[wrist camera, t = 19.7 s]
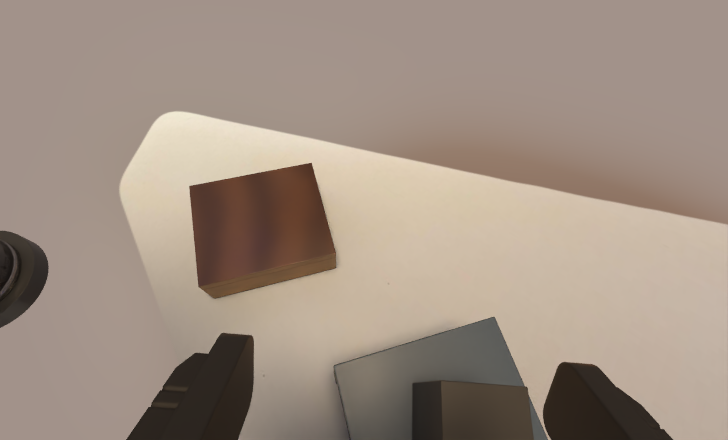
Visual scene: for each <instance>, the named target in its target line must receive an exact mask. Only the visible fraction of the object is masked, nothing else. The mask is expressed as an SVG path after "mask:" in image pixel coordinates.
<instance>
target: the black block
mask: <svg viewBox="0 0 728 440" xmlns="http://www.w3.org/2000/svg"><path fill="white" fill-rule="evenodd" d="M412 440H534V436H533V428H532V420H531V412H530V404H529V396H528V388H527V387H523V386H511V385H498V384H485V383H472V382H459V381H446V380H438V381H428V382H417V383H413V384H412Z"/></svg>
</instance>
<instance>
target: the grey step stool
mask: <svg viewBox="0 0 728 440" xmlns="http://www.w3.org/2000/svg"><path fill="white" fill-rule="evenodd" d="M334 376H335V380H336V384H338V388H339V393H340V397H341V401H342V405H343V410H344V414H345V418H346V423H347V427H348V431H349V436H350V440H412V384H413V383H417V382H428V381H438V380H446V381H459V382H472V383H485V384H498V385H511V386H523V387H525V386H524V384H523V381H522V379H521V377H520V374H519V372H518V370H517V367H516V365H515V363H514V361H513V358H512V356H511V354H510V351H509V349H508V347H507V344H506V342H505V340H504V338H503V335H502V333H501V331H500V328H499V326H498V324H497V321H496V319H495V317H491V318H488V319H485V320H482V321H478V322H475V323H472V324H468V325H465V326H462V327H459V328H455V329H452V330H449V331H445V332H442V333H439V334H435V335H432V336H429V337H426V338H422V339H419V340H416V341H412V342H409V343H406V344H403V345H399V346H396V347H393V348H389V349H386V350H383V351H380V352H376V353H373V354H370V355H366V356H363V357H360V358H357V359H353V360H350V361H347V362H343V363H340V364H337V365H334ZM528 396H529V395H528ZM529 404H530V412H531V420H532V428H533V436H534V440H548V439H547V436H546V434H545V432H544V430H543V427H542V425H541V423H540V420H539V418H538V416H537V413H536V411H535V409H534V407H533V404H532V402H531V400H530V397H529Z"/></svg>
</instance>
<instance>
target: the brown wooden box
mask: <svg viewBox="0 0 728 440" xmlns="http://www.w3.org/2000/svg"><path fill="white" fill-rule="evenodd" d="M189 187H190V198H191V209H192V220H193V230H194V241H195V252H196V263H197V274H198V285H199V287H200V288H201V289H202V290H204V291H205V292H206V293H208V294H209V295H210V296H212V297H213V298H218V297H222V296H226V295H230V294H234V293H238V292H242V291H246V290H250V289H254V288H258V287H262V286H266V285H270V284H274V283H278V282H282V281H286V280H290V279H294V278H298V277H302V276H306V275H310V274H314V273H318V272H322V271H326V270H330V269H334V268H336V252H335V248H334V245H333V241H332V237H331V234H330V230H329V226H328V222H327V219H326V215H325V211H324V208H323V204H322V200H321V196H320V193H319V189H318V185H317V182H316V178H315V174H314V170H313V167H312V163H308V164H303V165H298V166H293V167H287V168H282V169H277V170H272V171H266V172H261V173H256V174H251V175H245V176H240V177H235V178H230V179H224V180H219V181H214V182H209V183H203V184H198V185H193V186H189Z"/></svg>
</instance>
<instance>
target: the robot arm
mask: <svg viewBox="0 0 728 440" xmlns="http://www.w3.org/2000/svg"><path fill="white" fill-rule="evenodd" d="M20 272H21V257H20V254H19V252H18V251H17V249H16V248H15V247H13V246H12V245H11V244H9V243H7V242H5V241H2V240H0V301H1V300H2V299H4V298H5V297H6V296H7V294H8V293H9V292H10V291H11V290H12V288H13V287H14V285H15V284H16V282H17V280H18V278H19V275H20ZM253 380H254V340H253V336H252V335H240V334H228V333H222V334H221V335H220V336H219V337H218V339H217V340H216V342H215V344H214V345H213V347H212V349H211V350H210V352H209V354H203V353H194V354H193V355H192V356H191V357H189V358H188V359H187V360H185V361H184V362H183V363H181V364H180V365H179V366H178V367H176V368H175V370H174V371H173V373H172V374H171V376H170V377H169V379H168V380H167V381H166V383H165V384H164V386H163V389H162V391H160V392H159V393H158V394H157V396H156V397H155V399H154V400H153V402H152V405H151V407H148V409H147V410H146V412H145V413H144V415H143V416H142V418H141V419H140V421H139V422H138V424H137V425H136V427H135V428H134V429H133V431H132V432H131V434H130V435H129V437H128V438H127V439H126V440H238V437H239V435H240V432H241V429H242V426H243V424H244V421H245V418H246V415H247V412H248V410H249V406H250V402H251V398H252V392H253ZM543 419H544V424H545V428H546V430H547V433H548V435H549V436H550V438H551V440H673V439H672V438H671V437H670V436H669V435H668V434H667V433H666V431H665V430H664V429H660V425H659V424H658V423H657V422H656V421H655V420H654V418H653V417H652V416H651V415H650V414H649V413H648V412H647V411H646V410H645V409H644V408H643V406H642V405H641V404H639V403H638V402H637V401H635V400H634V399H633V398H631V397H630V396H628V395H627V394H626V393H624V392H623V391H622V390H620V389H619V388H617V387H616V386H615V385H614V384H613V383H612V382H611V381H610V380H609V379H608V377H607V376H606V375H605V374H604V373H603V372H602V371H601V370H600V369H599V368H598V367H597V366H595V365H592V364H582V363H570V362H563V363H561V364H560V365H559V366H558V368H557V370H556V373H555V376H554V379H553V382H552V384H551V387H550V390H549V393H548V396H547V399H546V401H545V404H544V408H543Z"/></svg>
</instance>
